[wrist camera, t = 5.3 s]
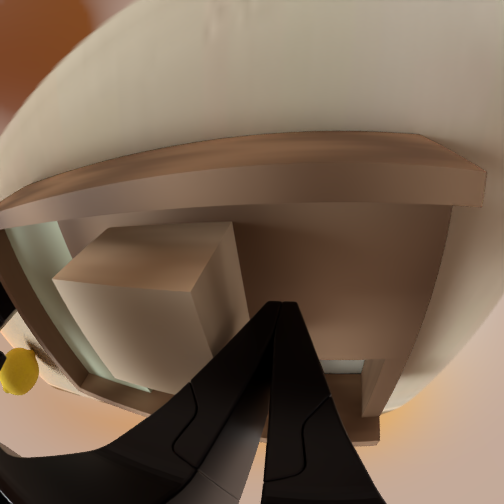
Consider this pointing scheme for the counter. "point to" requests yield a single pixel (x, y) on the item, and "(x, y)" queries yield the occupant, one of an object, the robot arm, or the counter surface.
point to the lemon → (19, 371)
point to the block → (157, 299)
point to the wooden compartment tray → (261, 245)
